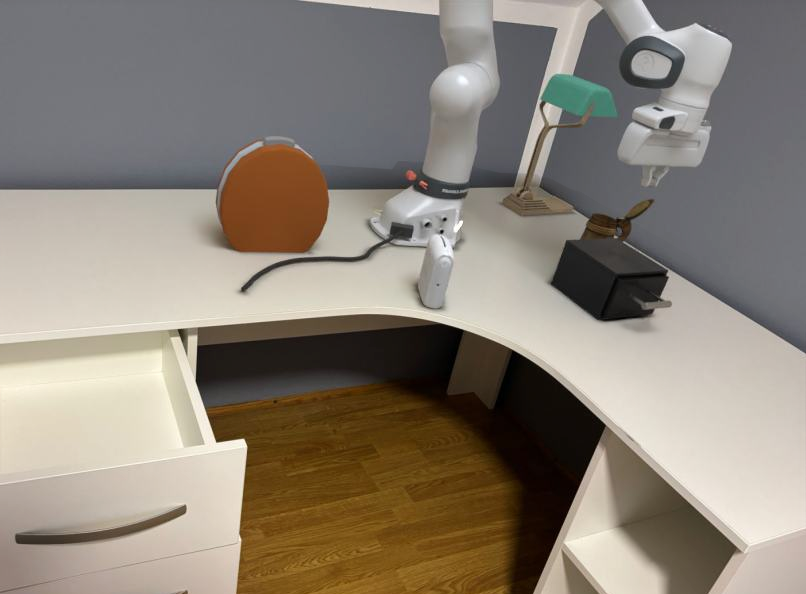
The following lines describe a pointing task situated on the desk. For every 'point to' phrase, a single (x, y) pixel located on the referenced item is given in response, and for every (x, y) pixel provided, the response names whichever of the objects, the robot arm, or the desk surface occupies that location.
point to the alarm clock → (272, 197)
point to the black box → (598, 270)
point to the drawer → (636, 296)
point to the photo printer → (435, 271)
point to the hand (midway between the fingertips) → (648, 186)
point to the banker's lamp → (573, 99)
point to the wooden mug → (613, 223)
